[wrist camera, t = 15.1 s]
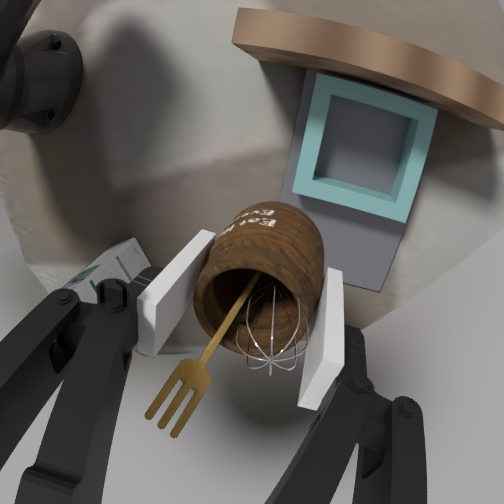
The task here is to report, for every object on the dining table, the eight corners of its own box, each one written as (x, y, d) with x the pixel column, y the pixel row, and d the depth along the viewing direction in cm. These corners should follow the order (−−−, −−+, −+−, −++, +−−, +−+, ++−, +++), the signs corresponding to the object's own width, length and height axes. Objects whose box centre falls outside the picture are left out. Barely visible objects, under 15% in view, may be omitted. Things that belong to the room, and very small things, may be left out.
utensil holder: (346, 250, 19) (352, 423, 8) (270, 306, 21) (217, 466, 11) (276, 176, 18) (195, 288, 7) (206, 243, 20) (96, 378, 10)
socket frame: (294, 184, 33) (291, 192, 30) (317, 76, 28) (317, 73, 25) (399, 213, 32) (405, 223, 29) (428, 109, 26) (437, 110, 24)
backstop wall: (257, 60, 29) (231, 42, 20) (263, 34, 27) (238, 7, 18) (476, 124, 26) (525, 136, 17) (482, 99, 25) (531, 103, 16)
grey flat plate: (266, 261, 38) (265, 262, 38) (306, 68, 28) (306, 68, 28) (379, 289, 37) (379, 291, 36) (437, 108, 26) (439, 108, 26)
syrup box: (135, 235, 41) (65, 292, 28) (156, 273, 42) (97, 340, 30) (107, 248, 43) (40, 303, 30) (128, 283, 45) (69, 346, 32)
